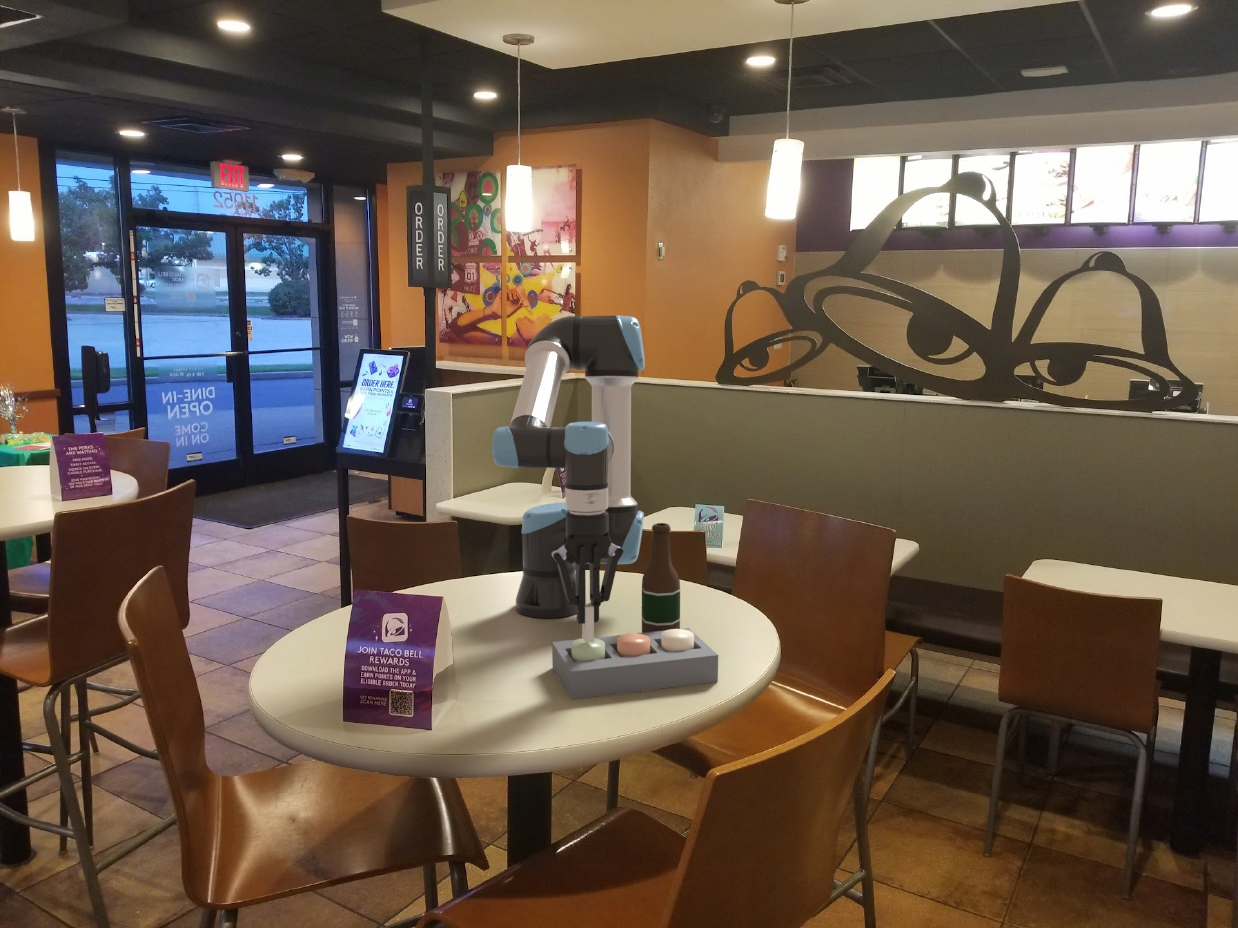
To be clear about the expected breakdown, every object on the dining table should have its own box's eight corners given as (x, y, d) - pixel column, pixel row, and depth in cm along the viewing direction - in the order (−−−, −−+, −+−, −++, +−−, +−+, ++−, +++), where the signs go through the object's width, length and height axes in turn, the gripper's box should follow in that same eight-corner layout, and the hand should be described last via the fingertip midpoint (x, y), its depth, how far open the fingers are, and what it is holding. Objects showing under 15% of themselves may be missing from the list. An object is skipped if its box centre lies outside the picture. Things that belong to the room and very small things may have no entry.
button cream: (656, 653, 176) (656, 630, 176) (687, 649, 178) (687, 627, 177) (667, 664, 171) (667, 641, 170) (698, 661, 172) (698, 638, 172)
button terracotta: (613, 657, 174) (613, 635, 173) (644, 654, 176) (644, 631, 175) (622, 669, 168) (622, 646, 168) (654, 666, 170) (654, 642, 169)
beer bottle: (677, 648, 185) (678, 529, 181) (638, 645, 187) (638, 527, 183) (682, 635, 193) (683, 520, 189) (645, 632, 194) (645, 519, 191)
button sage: (568, 662, 172) (568, 639, 171) (600, 659, 173) (600, 636, 173) (576, 674, 166) (575, 651, 165) (608, 671, 168) (608, 647, 167)
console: (552, 667, 176) (552, 642, 175) (688, 652, 183) (688, 627, 182) (571, 699, 162) (570, 671, 161) (717, 681, 169) (718, 654, 168)
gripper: (555, 517, 160) (557, 650, 163) (628, 512, 163) (629, 643, 167) (546, 508, 167) (548, 636, 170) (616, 504, 170) (617, 629, 174)
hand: (588, 639), depth 169 cm, fingers closed
